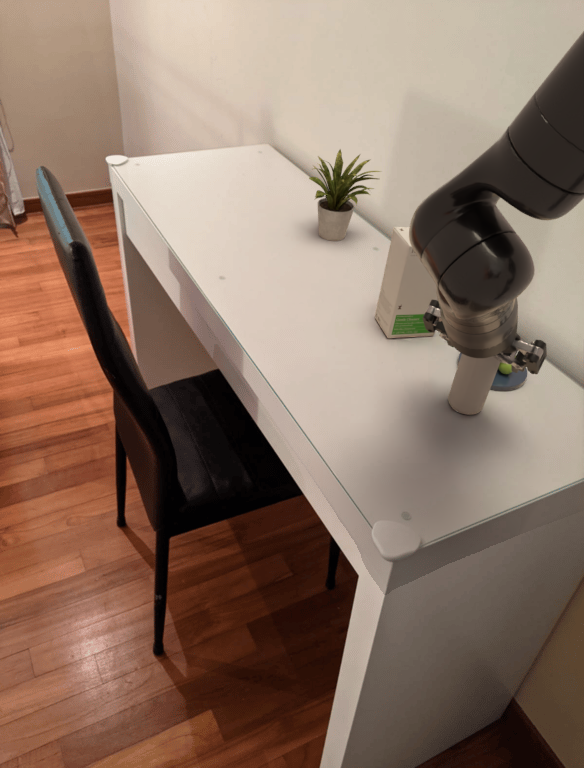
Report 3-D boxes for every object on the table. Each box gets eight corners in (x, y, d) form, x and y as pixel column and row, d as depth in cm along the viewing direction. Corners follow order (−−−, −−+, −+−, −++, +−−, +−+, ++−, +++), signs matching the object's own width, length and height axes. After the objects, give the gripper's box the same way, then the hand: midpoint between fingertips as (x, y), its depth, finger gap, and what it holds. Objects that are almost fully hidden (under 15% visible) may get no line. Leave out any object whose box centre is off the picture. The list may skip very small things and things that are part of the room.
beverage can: (467, 390, 85) (492, 318, 78) (489, 411, 82) (518, 339, 75) (439, 398, 84) (462, 325, 76) (461, 420, 80) (487, 347, 73)
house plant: (337, 262, 111) (351, 174, 101) (279, 236, 117) (286, 150, 107) (379, 238, 120) (395, 155, 110) (323, 216, 127) (333, 135, 116)
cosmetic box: (386, 339, 93) (407, 246, 84) (372, 316, 98) (390, 225, 88) (436, 336, 95) (462, 245, 85) (420, 313, 100) (443, 224, 90)
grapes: (540, 381, 88) (555, 346, 84) (487, 397, 85) (501, 361, 81) (494, 343, 95) (506, 309, 91) (443, 356, 91) (454, 321, 87)
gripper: (563, 305, 61) (553, 347, 76) (432, 259, 66) (446, 306, 81) (530, 373, 60) (526, 401, 75) (401, 320, 66) (421, 356, 81)
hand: (485, 351), depth 78 cm, fingers open, 8 cm apart
